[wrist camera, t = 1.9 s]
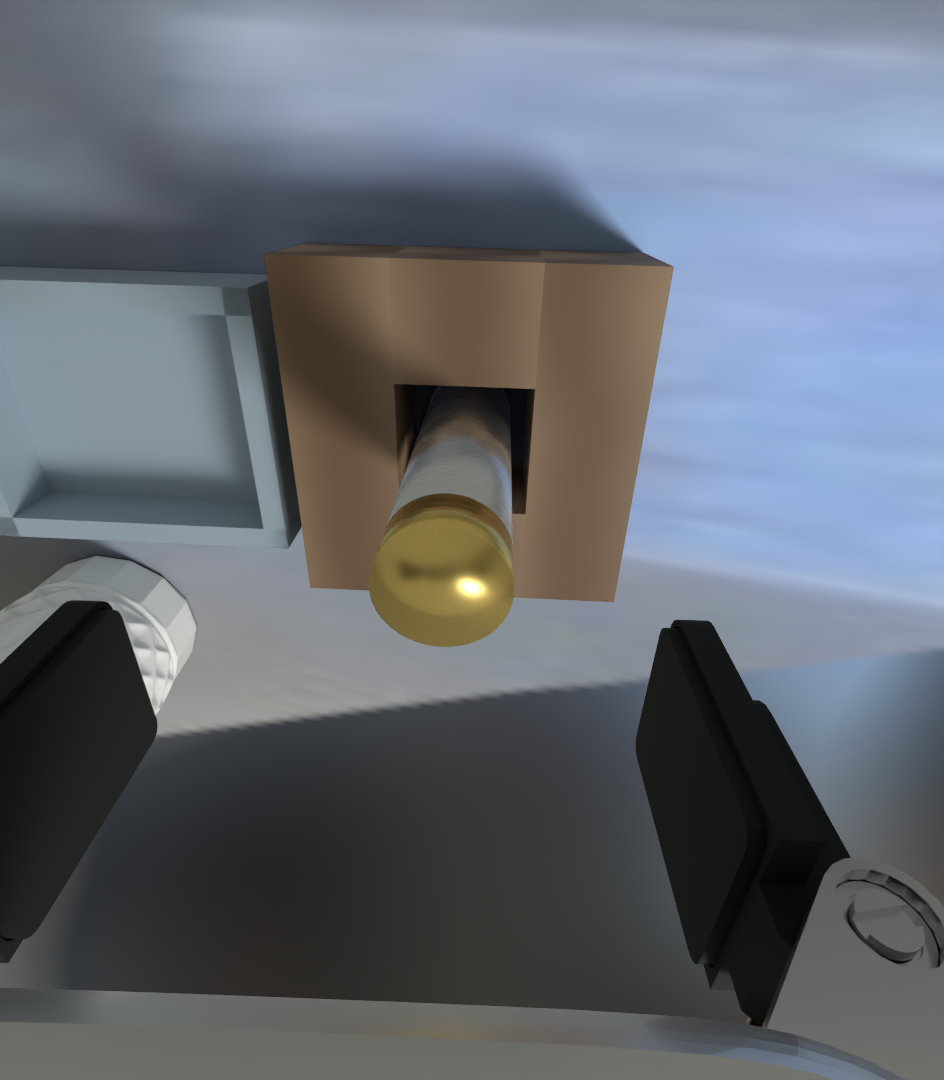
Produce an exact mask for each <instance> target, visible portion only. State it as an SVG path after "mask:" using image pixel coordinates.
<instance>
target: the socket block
mask: <svg viewBox="0 0 944 1080" xmlns="http://www.w3.org/2000/svg"><path fill="white" fill-rule="evenodd" d="M264 261H265V269H266V276H267V283H268V290H269V297H270V304H271V311H272V318H273V325H274V332H275V340H276V347H277V354H278V361H279V368H280V375H281V382H282V389H283V396H284V404H285V411H286V418H287V425H288V432H289V439H290V446H291V453H292V460H293V467H294V475H295V482H296V489H297V496H298V503H299V510H300V517H301V524H302V531H303V538H304V546H305V553H306V560H307V567H308V574H309V581H310V588H330V589H351V590H369V575H370V571H371V568H372V565H373V562H374V559H375V556H376V553H377V550H378V548H379V545H380V542H381V539H382V536H383V534H384V531H385V528H386V525H387V522H388V519H389V517H390V514H391V511H392V508H393V505H394V503H395V500H396V497H397V494H398V491H399V489H400V486H401V483H402V480H403V477H404V474H405V472H406V469H407V466H408V463H409V460H410V458H411V455H412V452H413V449H414V446H415V435H414V399H413V385H439V386H467V387H494V388H521V389H528V397H527V411H526V425H525V439H524V453H523V466H511V480H512V531H513V582H514V595H513V597H519V598H540V599H561V600H582V601H603V602H614V598H615V592H616V587H617V581H618V576H619V570H620V564H621V559H622V553H623V548H624V542H625V536H626V531H627V525H628V520H629V514H630V508H631V503H632V497H633V492H634V486H635V480H636V475H637V469H638V464H639V458H640V452H641V447H642V441H643V436H644V430H645V424H646V419H647V413H648V408H649V402H650V396H651V391H652V385H653V380H654V374H655V368H656V363H657V357H658V352H659V346H660V340H661V335H662V329H663V324H664V318H665V312H666V307H667V301H668V296H669V290H670V284H671V279H672V273H673V268H674V267H673V266H671V265H669V264H667V263H665V262H662V261H660V260H658V259H656V258H654V257H651V256H649V255H647V254H645V253H632V252H598V251H564V250H530V249H497V248H463V247H429V246H396V245H362V244H328V243H304V244H300V245H296V246H293V247H289V248H285V249H281V250H278V251H274V252H270V253H266V254H264Z"/></svg>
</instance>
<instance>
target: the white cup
mask: <svg viewBox="0 0 944 1080" xmlns="http://www.w3.org/2000/svg"><path fill="white" fill-rule="evenodd" d="M71 600H83V601H104V602H108V603H109V604H110V605H111V606H112V608H113V610H116V611H118V612H119V613H120V614H121V616H122V618H123V621H124V624H125V627H126V630H127V633H128V636H129V639H130V642H131V645H132V648H133V651H134V654H135V657H136V659H137V662H138V665H139V668H140V671H141V674H142V677H143V680H144V683H145V686H146V689H147V692H148V695H149V698H150V701H151V704H152V707H153V710H154V713H155V716H156V714H157V713H158V711H159V709H160V708H161V706H162V705H163V703H164V701H165V699H166V697H167V695H168V693H169V691H170V688H171V686H172V683H173V681H174V680H175V678H176V677H177V675H178V673H179V672H180V670H181V668H182V667H183V665H184V664H185V662H186V660H187V659H188V657H189V655H190V654H191V652H192V649H193V644H194V639H195V634H196V629H197V627H196V624H195V621H194V619H193V616H192V614H191V611H190V608H189V606H188V603H187V601H186V600H185V599H184V598H183V597H182V596H181V595H180V594H179V593H178V592H177V591H176V590H175V589H174V588H173V587H172V586H171V585H170V584H169V583H168V581H167V580H166V579H164V578H163V577H162V576H160V575H158V574H156V573H154V572H152V571H150V570H148V569H146V568H144V567H142V566H140V565H138V564H136V563H134V562H132V561H129V560H122V559H115V558H109V557H102V556H94V557H90V558H86V559H83V560H79V561H75V562H71V563H68V564H66V565H65V566H63V567H62V568H61V569H60V570H58V571H57V572H56V573H54V574H53V575H52V576H51V577H49V578H48V579H47V580H45V581H44V582H43V583H42V584H40V585H39V586H38V587H36V588H35V589H34V590H33V591H31V592H30V593H29V594H27V595H25V596H23V597H21V598H20V599H18V600H16V601H15V602H13V603H11V604H9V605H8V606H7V607H5V608H4V609H2V610H1V611H0V663H2V662H3V661H4V660H5V659H6V658H7V657H8V656H9V655H10V654H11V653H12V652H13V651H14V650H15V649H16V648H17V647H18V646H19V645H20V644H21V643H22V642H23V641H25V640H26V639H27V638H28V637H29V636H30V635H31V634H32V633H33V632H34V631H35V630H36V629H37V628H38V627H39V626H40V625H41V624H42V623H43V622H44V621H45V620H47V619H48V618H49V617H50V616H51V615H52V614H53V613H54V612H55V611H56V610H57V609H58V608H59V607H60V606H61V605H62V604H64V603H65V602H67V601H71Z"/></svg>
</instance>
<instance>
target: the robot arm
mask: <svg viewBox="0 0 944 1080" xmlns="http://www.w3.org/2000/svg"><path fill="white" fill-rule="evenodd" d="M156 733H157V719H156V716H155V713H154V710H153V707H152V704H151V701H150V698H149V695H148V692H147V689H146V686H145V683H144V680H143V677H142V674H141V671H140V668H139V665H138V662H137V659H136V657H135V654H134V651H133V648H132V645H131V642H130V639H129V636H128V633H127V630H126V627H125V624H124V621H123V618H122V616H121V614H120V613H119V612H118V611H116V610H113V608H112V606H111V605H110V604H109V603H108V602H104V601H83V600H71V601H67V602H65V603H64V604H62V605H61V606H60V607H59V608H58V609H57V610H56V611H55V612H54V613H53V614H52V615H51V616H50V617H49V618H48V619H47V620H45V621H44V622H43V623H42V624H41V625H40V626H39V627H38V628H37V629H36V630H35V631H34V632H33V633H32V634H31V635H30V636H29V637H28V638H27V639H26V640H25V641H23V642H22V643H21V644H20V645H19V646H18V647H17V648H16V649H15V650H14V651H13V652H12V653H11V654H10V655H9V656H8V657H7V658H6V659H5V660H4V661H3V662H2V663H0V963H8V962H9V961H10V959H11V958H12V956H13V955H14V953H15V951H16V950H17V948H18V946H19V945H20V943H21V942H22V940H23V939H26V938H28V937H30V936H31V935H33V933H35V932H36V930H37V929H38V928H39V926H40V925H41V923H42V921H43V920H44V918H45V917H46V915H47V914H48V912H49V910H50V909H51V907H52V906H53V904H54V902H55V901H56V899H57V897H58V896H59V894H60V893H61V891H62V889H63V888H64V886H65V884H66V883H67V881H68V880H69V878H70V876H71V875H72V873H73V871H74V870H75V868H76V867H77V865H78V863H79V862H80V860H81V858H82V857H83V855H84V853H85V852H86V850H87V849H88V847H89V845H90V844H91V842H92V841H93V839H94V837H95V836H96V834H97V832H98V831H99V829H100V827H101V826H102V824H103V823H104V821H105V819H106V818H107V816H108V814H109V813H110V811H111V809H112V808H113V806H114V805H115V803H116V801H117V800H118V798H119V797H120V795H121V793H122V792H123V790H124V788H125V787H126V785H127V784H128V782H129V780H130V779H131V777H132V775H133V774H134V772H135V771H136V769H137V767H138V766H139V764H140V762H141V761H142V759H143V758H144V756H145V754H146V753H147V751H148V749H149V748H150V746H151V745H152V743H153V741H154V739H155V736H156ZM636 755H637V760H638V763H639V767H640V771H641V775H642V778H643V782H644V786H645V789H646V793H647V797H648V801H649V805H650V808H651V812H652V816H653V819H654V823H655V827H656V831H657V834H658V838H659V842H660V846H661V850H662V853H663V857H664V861H665V864H666V868H667V872H668V876H669V880H670V883H671V887H672V891H673V894H674V898H675V902H676V906H677V909H678V913H679V916H680V921H681V925H682V928H683V932H684V936H685V940H686V943H687V947H688V950H689V953H690V956H691V958H692V960H693V962H694V963H695V964H704V968H705V971H706V975H707V978H708V982H709V985H710V989H715V990H716V989H717V990H735V991H736V995H737V998H738V1001H739V1004H740V1008H741V1010H742V1011H743V1012H744V1013H745V1014H746V1015H747V1016H748V1017H749V1018H748V1021H747V1023H746V1024H741V1023H731V1022H723V1021H715V1020H706V1019H698V1018H689V1017H678V1016H661V1015H645V1014H630V1013H614V1012H598V1011H582V1010H566V1009H544V1008H520V1007H498V1006H475V1005H451V1004H429V1003H406V1002H383V1001H357V1000H330V999H306V998H281V997H254V996H227V995H200V994H173V993H144V992H143V993H142V992H115V991H84V990H53V989H23V988H0V1080H944V907H943V906H942V905H941V903H940V902H939V901H938V900H937V899H936V898H935V897H934V896H933V895H932V894H930V893H929V892H928V891H927V890H926V889H925V888H924V887H923V886H922V885H921V884H919V883H918V882H916V881H915V880H913V879H912V878H911V877H909V876H907V875H906V874H904V873H903V872H902V871H900V870H897V869H895V868H893V867H891V866H889V865H887V864H884V863H882V862H879V861H875V860H870V859H866V858H862V857H861V858H851V857H850V856H849V854H848V852H847V850H846V848H845V847H844V845H843V843H842V841H841V839H840V837H839V836H838V834H837V832H836V830H835V828H834V826H833V825H832V823H831V821H830V819H829V817H828V816H827V814H826V812H825V810H824V808H823V807H822V805H821V803H820V801H819V799H818V797H817V796H816V794H815V792H814V790H813V788H812V787H811V785H810V783H809V781H808V779H807V777H806V776H805V774H804V772H803V770H802V768H801V766H800V765H799V763H798V761H797V759H796V757H795V756H794V754H793V752H792V750H791V748H790V746H789V745H788V743H787V741H786V739H785V738H784V736H783V734H782V732H781V730H780V729H779V726H778V725H777V723H776V721H775V719H774V717H773V716H772V714H771V712H770V711H769V709H768V708H767V706H766V705H765V704H764V703H762V702H761V701H757V700H752V698H751V696H750V694H749V692H748V690H747V689H746V687H745V685H744V683H743V681H742V679H741V677H740V675H739V673H738V671H737V670H736V668H735V666H734V664H733V662H732V660H731V658H730V656H729V654H728V653H727V651H726V649H725V647H724V645H723V643H722V641H721V639H720V637H719V635H718V634H717V632H716V630H715V628H714V626H713V625H712V623H711V622H709V621H697V620H675V621H674V622H673V623H672V625H671V628H663V629H662V630H661V632H660V635H659V640H658V644H657V649H656V653H655V657H654V662H653V666H652V670H651V675H650V679H649V683H648V688H647V692H646V696H645V701H644V705H643V709H642V714H641V718H640V722H639V727H638V732H637V736H636Z"/></svg>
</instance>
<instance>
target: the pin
mask: <svg viewBox="0 0 944 1080" xmlns="http://www.w3.org/2000/svg"><path fill="white" fill-rule="evenodd" d="M369 592H370V596H371V600H372V603H373V605H374V607H375V609H376V611H377V612H378V614H379V615H380V617H381V618H382V619H383V620H384V621H385V622H386V623H387V624H388V625H389V626H390V627H391V628H392V629H394V630H395V631H396V632H398V633H399V634H401V635H403V636H405V637H406V638H409V639H411V640H413V641H416V642H419V643H422V644H426V645H431V646H440V647H451V646H460V645H465V644H469V643H472V642H475V641H477V640H479V639H482V638H484V637H485V636H487V635H488V634H490V633H491V632H493V631H494V630H495V629H496V628H497V627H498V626H499V625H500V624H501V623H502V622H503V621H504V619H505V618H506V616H507V614H508V612H509V610H510V608H511V605H512V602H513V595H514V582H513V531H512V480H511V429H510V404H509V400H508V397H507V395H506V393H505V391H504V389H503V388H494V387H467V386H439V385H438V387H437V388H436V390H435V391H434V393H433V396H432V398H431V401H430V404H429V407H428V410H427V413H426V415H425V418H424V421H423V424H422V427H421V429H420V432H419V435H418V438H417V441H416V443H415V446H414V449H413V452H412V455H411V458H410V460H409V463H408V466H407V469H406V472H405V474H404V477H403V480H402V483H401V486H400V489H399V491H398V494H397V497H396V500H395V503H394V505H393V508H392V511H391V514H390V517H389V519H388V522H387V525H386V528H385V531H384V534H383V536H382V539H381V542H380V545H379V548H378V550H377V553H376V556H375V559H374V562H373V565H372V568H371V571H370V575H369Z"/></svg>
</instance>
